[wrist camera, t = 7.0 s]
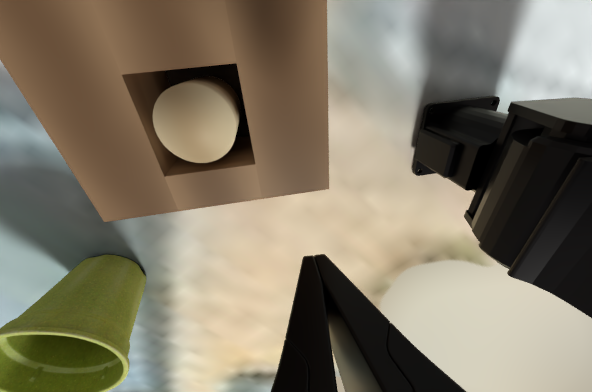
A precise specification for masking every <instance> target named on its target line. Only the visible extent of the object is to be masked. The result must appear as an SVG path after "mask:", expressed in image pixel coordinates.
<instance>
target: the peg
mask: <svg viewBox="0 0 592 392" xmlns="http://www.w3.org/2000/svg"><path fill="white" fill-rule="evenodd" d="M240 117H241V104H240V101H239V98H238V96H237V94H236V92H235V91H234V89H233V88H232V87H231V86H230V85H229V84H228V83H226V82H225V81H223V80H221V79H220V78H217V77H214V76H199V77H196V78H193V79H191V80H188V81H185V82H183V83H180V84H177V85H175V86H172V87H170V88H168V89H167V90H165V91H164V92H163V93H162V94H161V95H160V96H159V97H158V99H157V101H156V103H155V105H154V109H153V124H154V128H155V131H156V133H157V136H158V137H159V139H160V141H161V142H162V143H163V145H164V146H165V147H166V148H167V149H168V150H169V151H171V152H172V153H173V154H175V155H176V156H178V157H180V158H182V159H184V160H187V161H190V162H195V163H208V162H212V161H215V160H218V159H220V158H221V157H223V156H224V155H225V154H226V153H228V151H229V150H230V149H231V147H232V146H233V143H234V141H235V137H236V133H237V129H238V125H239V121H240Z"/></svg>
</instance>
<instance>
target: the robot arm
mask: <svg viewBox="0 0 592 392" xmlns="http://www.w3.org/2000/svg"><path fill="white" fill-rule="evenodd" d="M492 101H493V102H492ZM499 101H500V99H499V97H496V96H487V97H479V98H471V99H462V100H454V101H446V102H438V103H430V104H428V105H427V106H426V107H425V109H424V113H423V118H422V123H421V128H420V132H419V136H418V141H417V146H416V152H415V160H414V165H413V173H414V174H415V175H417V176H420V175H427V174H434V173H437V174H439V175H440V176H442V177H444V178H448V179H449V180H451V181H452V182H454V183H456V184H457V185H459V186H460V187H462V188H463V189H465V190H472V191H474V192H475V195H474V197H473V200H472V202H471V204H470V207H469V209H468V210H466V212H465V215H464V218H465V219H466V221H467V222H468V224H469V225H470V227H471V228H472V232H473V233H474V235H475V236H476V238H477V239H478V241H479V242H480V243H479V247H480V248H481V249H482V250H483V251H484V252H485V253H486V254H487V255H489V256H490V257H491V258H493V259H494V260H496V261H497V262H498V263H500V264H501V265H503V266H504V267H506V268H508V269H509V271H508V275H509V276H511V277H513V278H516V279H519V280H522V281H525V282H528V283H530V284H533V285H535V286H537V287H539V288H541V289H543V290H546V291H548V292H550V293H552V294H554V295H555V296H557V297H559V298H560V299H562V300H564V301H566V302H567V303H569V304H571V305H572V306H574V307H575V308H577V309H578V310H580V311H582V312H583V313H585V314H586V315H588V316H590V317H591V318H592V99H586V98H562V99H547V100H532V101H517V102H511V104H510V106H509V108H508V112H509V113H508V114H505V113H501V112H496V110H497V107H498V105H499ZM491 102H492V104H491ZM431 108H432V111H431V112H430V109H431ZM418 169H420V170H419V171H418ZM331 347H332V348H331ZM332 350H333V353H334V357H335V360H336V363H337V366H338V369H339V373H340V376H341V379H342V382H343V386H344V389H345V392H466V391H465V390H464V389H462V388H461V387H460V386H459V385H458V384H457V383H456V382H454V381H453V380H452V379H451V378H450V377H449V376H448V375H446V374H445V373H444V372H443V371H442V370H440V369H439V368H438V367H437V366H436V365H435V364H434V363H433V362H431V361H430V360H429V359H428V358H427V357H426V356H425V355H424V354H423V353H421V352H420V351H419V350H418V349H417V348H416V347H415V346H414V345H413V344H412V343H411V342H410V341H409V340H408V339H407V338H406V337H404V335H402V333H401V332H400V331H399V330H398V329H396V327H395V326H394V325H393V324H392V323H390V321H389V320H388V319H387V318H386V317H385V316H384V315H383V314H382V313H381V312H380V311H379V310H378V309H377V308H376V307H375V306H374V305H373V304H372V303H371V302H370V301H369V300H368V298H367V297H366V296H365V295H364V294H363V293H362V292H361V291H360V290H359V289H358V288H357V287H356V286H355V285H354V284H353V283H352V282H351V281H350V280H349V279H348V278H347V277H346V276H345V275H344V274H343V273H342V272H341V271H340V270H339V269H338V268H337V266H336V265H335V264H334V263H333V262H332V261H331V260H330V259H329V258H328V257H327V256H326V255H324V254H320V255H315V256H304V257H303V260H302V265H301V269H300V274H299V278H298V283H297V287H296V292H295V297H294V301H293V306H292V310H291V315H290V319H289V324H288V328H287V333H286V340H285V341H284V346H283V351H282V355H281V359H280V363H279V367H278V370H277V374H276V377H275V380H274V383H273V386H272V389H271V392H338V391H337V384H336V377H335V369H334V362H333V355H332Z"/></svg>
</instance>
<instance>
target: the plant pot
mask: <svg viewBox="0 0 592 392" xmlns="http://www.w3.org/2000/svg"><path fill="white" fill-rule="evenodd" d="M145 284H146V276H145V275H144V274H143V273H142V271H141V269H140V267H139V265H138V264H136V263H135V262H133V261H131V260H129V259H127V258H124V257H121V256H116V255H101V256H98V257H93V258H87V259H85V260H83V261H82V262H81V263H80V264H79V265H78V266H76V267H75V268H74V269H73V270H72V271H71V272H69V273H68V274H67V275H66V276H65V277H64V278H63V279H62V280H61V281H60V282H58V283H57V284H56V285H55V286H54V287H53V288H52V289H50V290H49V291H48V292H47V293H46V294H45V295H44V296H42V297H41V298H40V299H39V300H38V301H37V302H36V303H34V304H33V305H32V306H31V307H30V308H29V309H27V310H26V311H25V312H24V313H23V314H22V315H20V316H19V317H18V318H16V319H14V320H12V321H10V322H9V323H7V324H5V325H4V326H3V327H2V328H0V392H106V391H108V390H110V389H113V388H115V387H116V386H118V385H119V384H120V383H121V382H122V381H123V380H124V379H125V377H126V376H127V374H128V371H129V359H128V353H129V349H130V343H129V340H130V336H131V332H132V329H133V325H134V322H135V318H136V314H137V311H138V308H139V304H140V301H141V297H142V294H143V291H144V287H145Z"/></svg>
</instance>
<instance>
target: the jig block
mask: <svg viewBox="0 0 592 392" xmlns="http://www.w3.org/2000/svg"><path fill="white" fill-rule="evenodd" d="M0 60H1V61H2V63H3V64H4V66H5V68H6V69H7V71H8V72H9V74H10V75H11V77H12V78H13V80H14V82H15V83H16V85H17V86H18V88H19V89H20V91H21V93H22V94H23V96H24V97H25V99H26V100H27V102H28V103H29V105H30V107H31V108H32V110H33V111H34V113H35V114H36V116H37V118H38V119H39V121H40V122H41V124H42V125H43V127H44V129H45V130H46V132H47V133H48V135H49V136H50V138H51V139H52V141H53V143H54V144H55V146H56V147H57V149H58V150H59V152H60V154H61V155H62V157H63V158H64V160H65V161H66V163H67V164H68V166H69V168H70V169H71V171H72V172H73V174H74V175H75V177H76V179H77V180H78V182H79V183H80V185H81V186H82V188H83V189H84V191H85V193H86V194H87V196H88V197H89V199H90V200H91V202H92V204H93V205H94V207H95V208H96V210H97V211H98V213H99V215H100V216H101V218H102V219H103V221H104V222H108V221H115V220H122V219H129V218H136V217H142V216H149V215H156V214H163V213H169V212H176V211H183V210H190V209H196V208H203V207H210V206H217V205H224V204H230V203H237V202H244V201H251V200H257V199H264V198H271V197H278V196H284V195H291V194H298V193H305V192H312V191H318V190H325V189H329V144H328V61H327V0H0ZM233 63H237V68H238V73H239V79H240V84H241V89H242V95H243V100H244V105H245V111H246V116H247V121H248V127H249V132H250V136H243V137H235V141H234V143H233V146H232V147H231V149H230V150H229V151H228V153H226V154H225V155H224V156H223V157H221V158H220V159H218V160H215V161H212V162H208V163H195V162H190V161H187V160H184V159H182V158H180V157H178V156H176V155H175V154H173V153H172V152H171V151H169V150H168V149H167V148H166V147H165V146H164V145H163V143H162V142H161V141H160V139H159V137H158V136H157V133H156V131H155V128H154V124H153V109H154V105H155V103H156V101H157V99H158V97H159V96H160V95H161V94H162V93H163V92H164V91H165V90H167V89H168V88H170V87H171V86H170V83H169V80H168V77H167V74H166V71H165V70H173V69H183V68H193V67H203V66H213V65H223V64H233Z"/></svg>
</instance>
